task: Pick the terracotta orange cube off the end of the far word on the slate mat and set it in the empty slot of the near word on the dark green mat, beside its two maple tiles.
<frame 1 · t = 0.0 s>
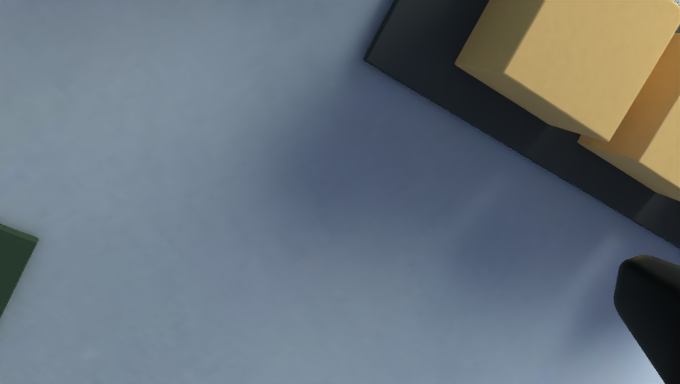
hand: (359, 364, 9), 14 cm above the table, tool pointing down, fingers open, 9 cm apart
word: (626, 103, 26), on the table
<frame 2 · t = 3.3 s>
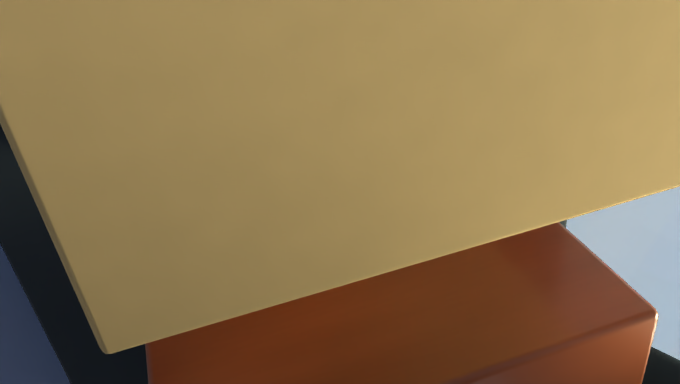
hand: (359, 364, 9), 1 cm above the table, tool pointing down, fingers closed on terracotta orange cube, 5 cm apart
terracotta orange cube: (340, 327, 10), resting on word, touching gripper
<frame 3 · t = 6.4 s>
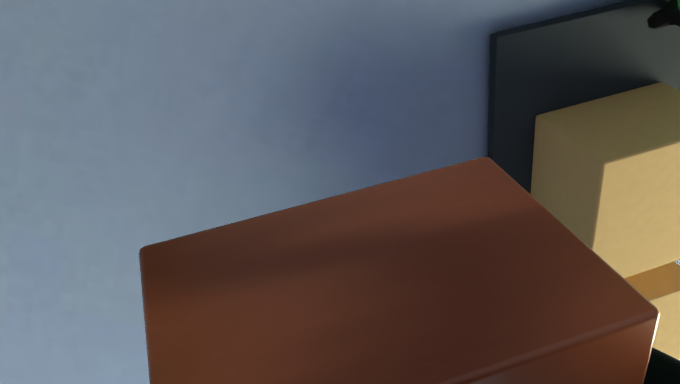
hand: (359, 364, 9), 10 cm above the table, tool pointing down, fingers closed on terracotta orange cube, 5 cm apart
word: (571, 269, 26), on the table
terracotta orange cube: (341, 327, 10), point 10 cm above the table, touching gripper
when the fingers open (1 cm above the table, at t = 9.8 s): terracotta orange cube stays where it is, resting on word.
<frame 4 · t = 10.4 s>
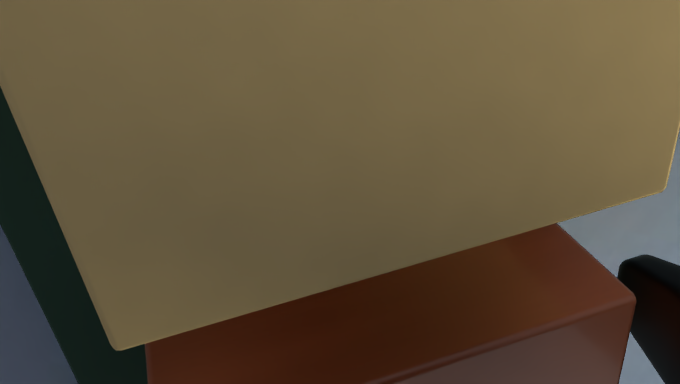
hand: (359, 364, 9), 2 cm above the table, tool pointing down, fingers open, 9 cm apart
terracotta orange cube: (334, 317, 10), resting on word
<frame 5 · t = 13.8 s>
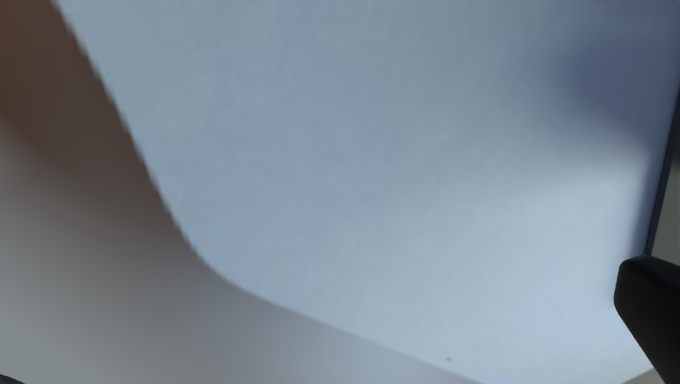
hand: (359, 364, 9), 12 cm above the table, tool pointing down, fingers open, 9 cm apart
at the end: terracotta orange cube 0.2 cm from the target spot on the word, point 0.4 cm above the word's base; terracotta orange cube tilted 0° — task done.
